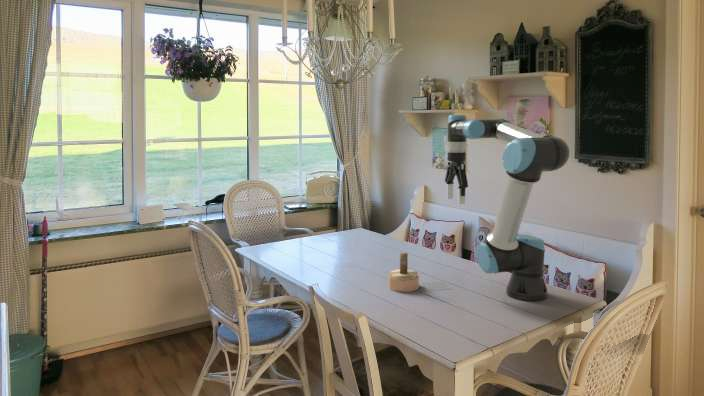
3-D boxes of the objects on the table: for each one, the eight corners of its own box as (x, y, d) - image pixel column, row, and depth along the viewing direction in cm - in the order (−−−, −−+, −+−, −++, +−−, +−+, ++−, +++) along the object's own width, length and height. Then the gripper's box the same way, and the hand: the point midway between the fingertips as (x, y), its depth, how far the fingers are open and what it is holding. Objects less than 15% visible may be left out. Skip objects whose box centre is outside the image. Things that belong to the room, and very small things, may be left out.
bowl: (422, 292, 208) (422, 279, 207) (392, 294, 206) (393, 281, 205) (413, 283, 220) (413, 270, 219) (385, 285, 218) (385, 272, 217)
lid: (421, 279, 208) (421, 256, 206) (393, 280, 206) (394, 258, 204) (412, 271, 218) (413, 249, 217) (387, 273, 217) (387, 251, 215)
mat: (452, 291, 209) (452, 289, 209) (428, 293, 208) (428, 290, 208) (443, 283, 219) (443, 281, 219) (420, 285, 217) (420, 283, 217)
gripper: (477, 153, 212) (475, 205, 215) (454, 149, 236) (453, 196, 239) (459, 153, 211) (458, 206, 214) (438, 150, 235) (437, 197, 238)
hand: (455, 201), depth 227 cm, fingers open, 13 cm apart
